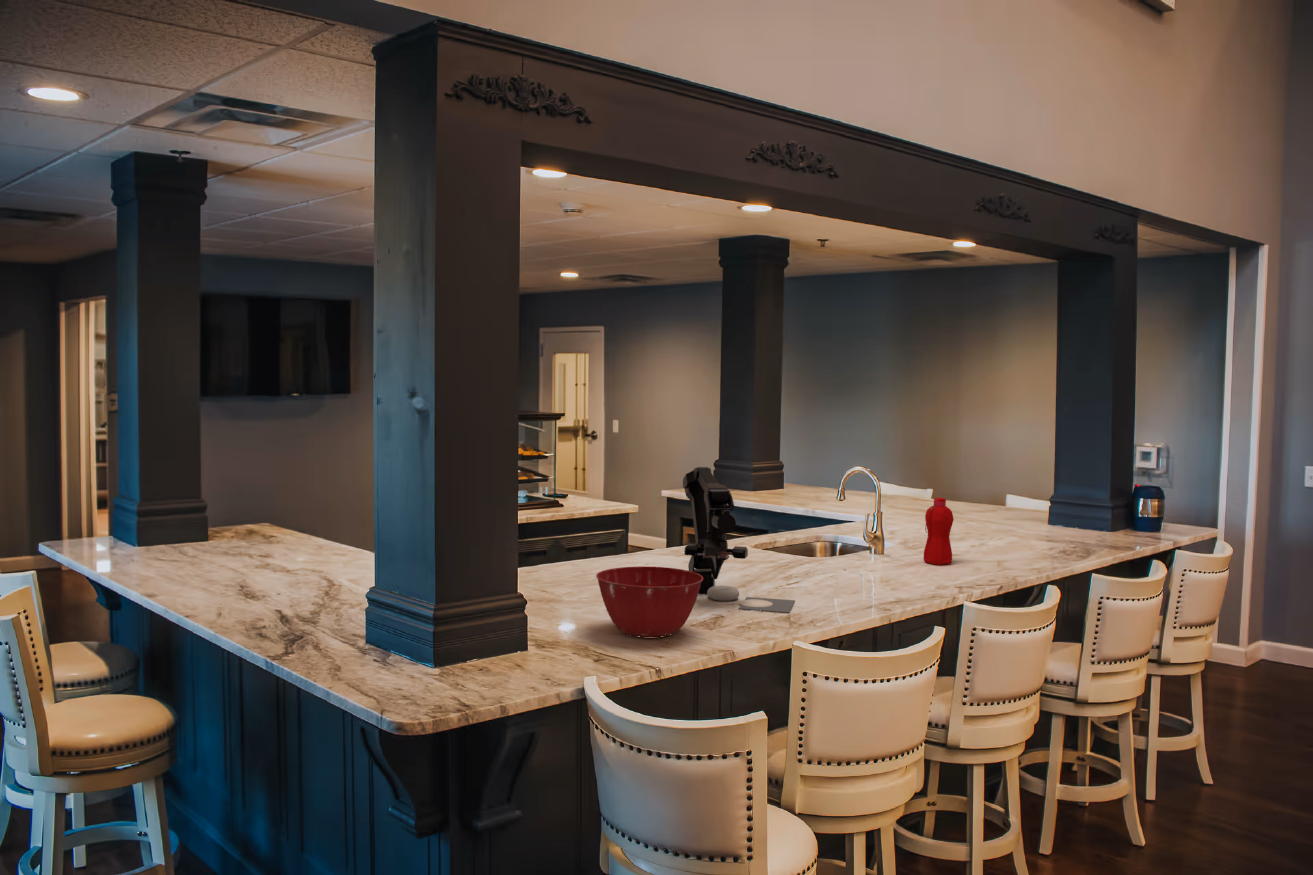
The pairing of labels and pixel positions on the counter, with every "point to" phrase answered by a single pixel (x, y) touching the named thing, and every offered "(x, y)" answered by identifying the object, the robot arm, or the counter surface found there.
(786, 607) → the kitchen scale
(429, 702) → the counter surface
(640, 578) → the mixing bowl
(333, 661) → the counter surface
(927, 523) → the water bottle
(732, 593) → the donut
